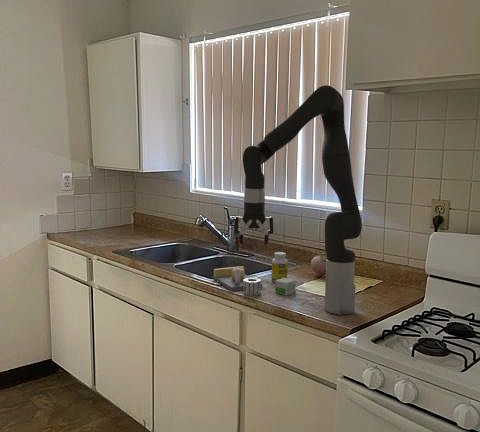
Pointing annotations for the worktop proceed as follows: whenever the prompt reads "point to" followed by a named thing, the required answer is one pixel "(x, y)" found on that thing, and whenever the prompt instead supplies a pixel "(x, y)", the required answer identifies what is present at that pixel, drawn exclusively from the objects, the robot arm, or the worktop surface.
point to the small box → (285, 286)
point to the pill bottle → (279, 266)
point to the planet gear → (252, 286)
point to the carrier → (231, 277)
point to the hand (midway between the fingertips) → (253, 244)
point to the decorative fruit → (319, 264)
